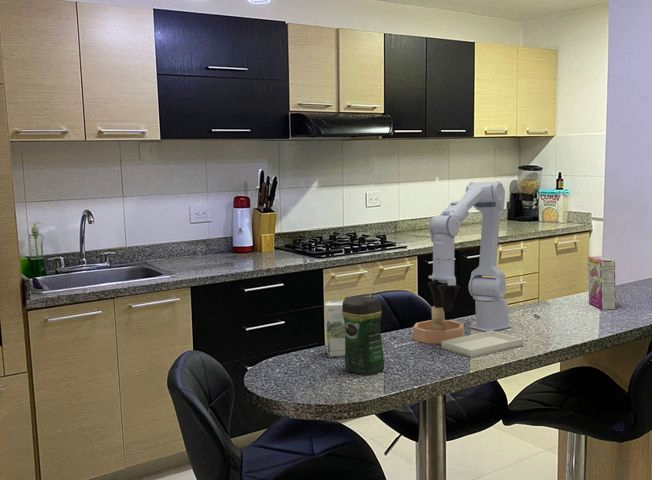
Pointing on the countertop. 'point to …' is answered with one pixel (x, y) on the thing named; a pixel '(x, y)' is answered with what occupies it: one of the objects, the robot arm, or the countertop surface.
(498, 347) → the cream tray
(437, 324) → the wooden pin
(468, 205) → the robot arm
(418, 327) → the octagonal open frame
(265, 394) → the countertop surface
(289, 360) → the countertop surface
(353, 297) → the coffee jar
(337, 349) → the syrup box
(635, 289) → the countertop surface
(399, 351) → the countertop surface
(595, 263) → the candy bar box
